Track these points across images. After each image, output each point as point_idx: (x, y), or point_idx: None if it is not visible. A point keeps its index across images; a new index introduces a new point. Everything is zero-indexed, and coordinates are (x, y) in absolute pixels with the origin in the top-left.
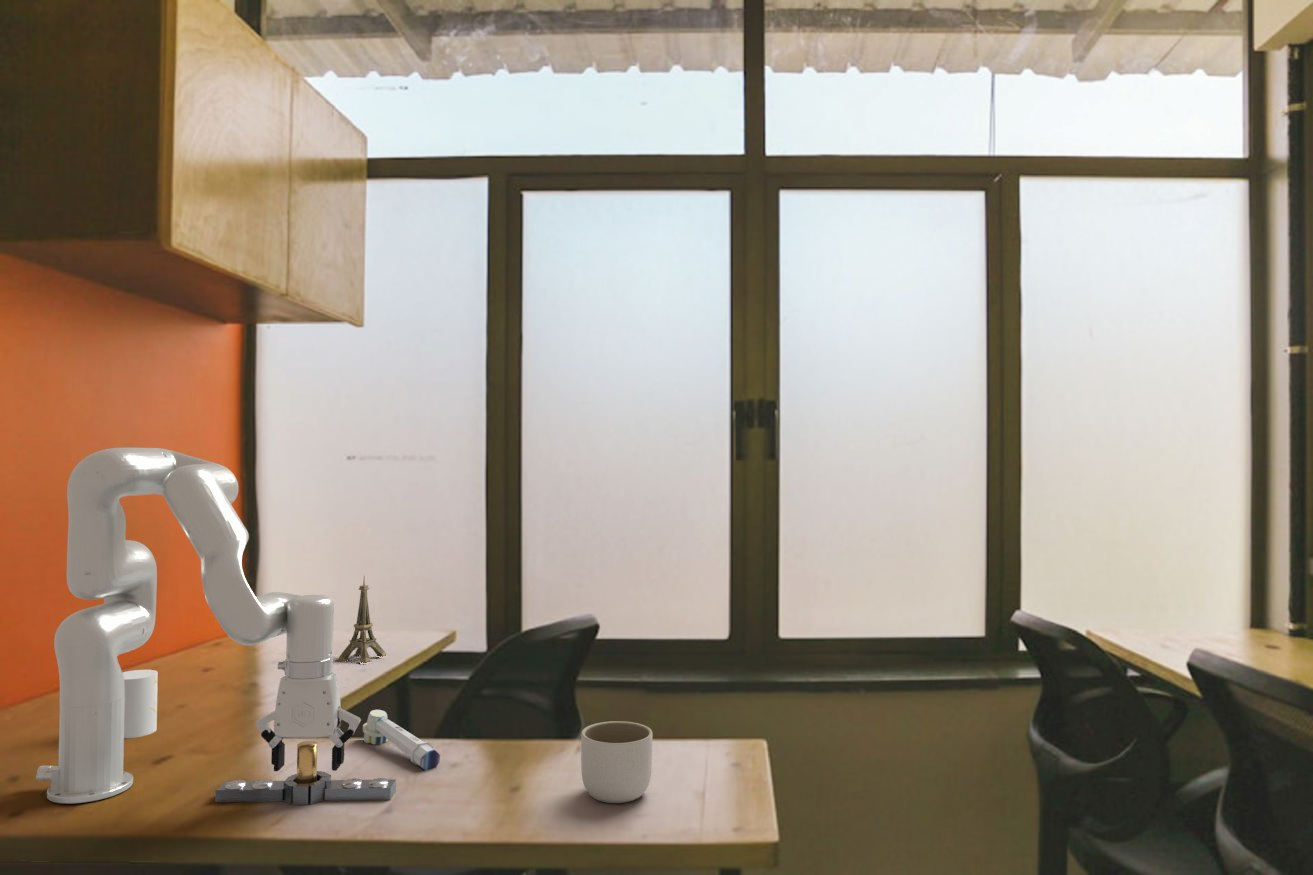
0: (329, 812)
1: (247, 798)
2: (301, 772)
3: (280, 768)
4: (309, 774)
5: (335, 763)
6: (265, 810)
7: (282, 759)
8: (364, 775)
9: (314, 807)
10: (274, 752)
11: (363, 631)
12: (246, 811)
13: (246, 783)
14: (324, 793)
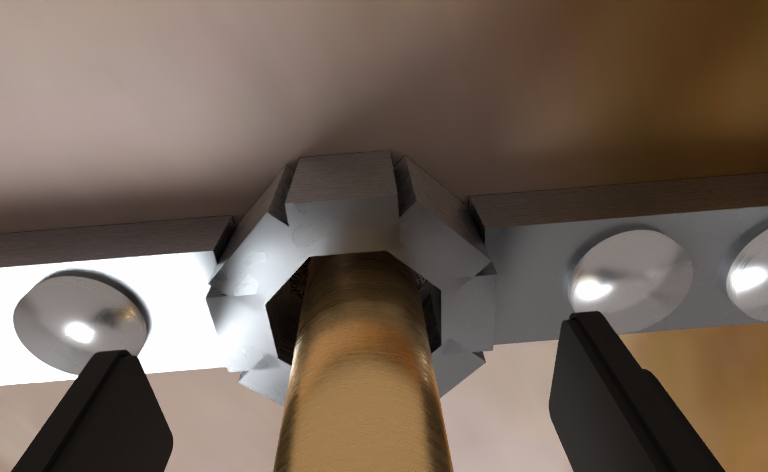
0: (92, 42)
1: (673, 189)
2: (375, 316)
3: (557, 352)
4: (318, 316)
5: (70, 393)
6: (527, 60)
7: (574, 427)
8: (208, 469)
9: (239, 120)
10: (688, 439)
11: None
12: (643, 39)
13: (724, 297)
14: (229, 242)
